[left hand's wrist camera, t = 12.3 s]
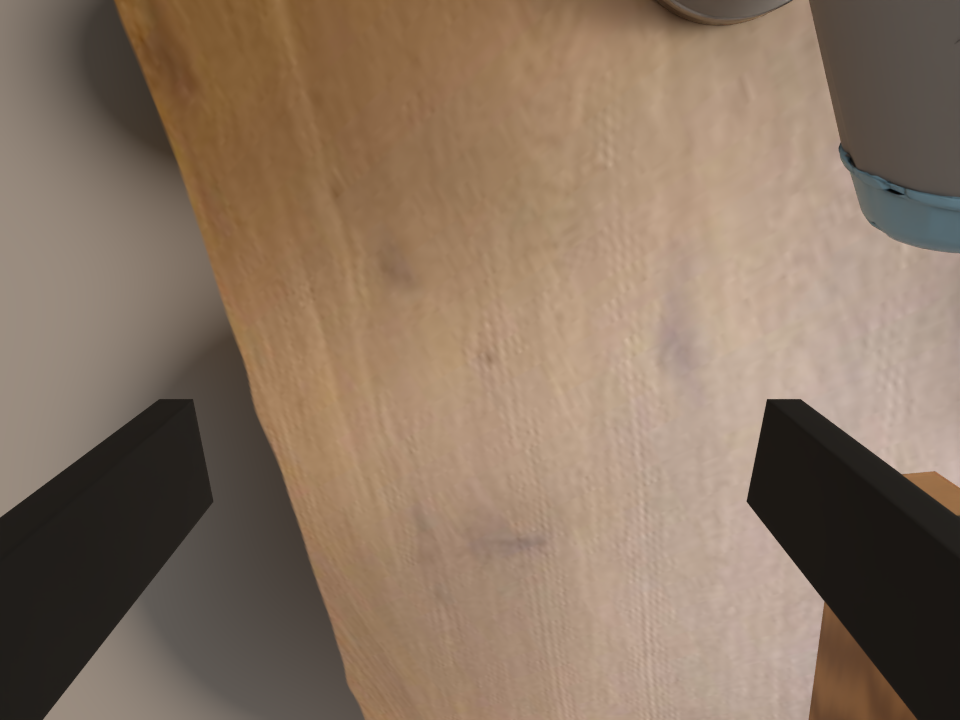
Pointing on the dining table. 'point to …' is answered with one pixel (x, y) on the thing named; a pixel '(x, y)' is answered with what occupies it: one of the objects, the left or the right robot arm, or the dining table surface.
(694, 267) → the dining table surface
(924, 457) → the dining table surface
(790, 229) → the dining table surface
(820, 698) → the bar
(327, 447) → the dining table surface
